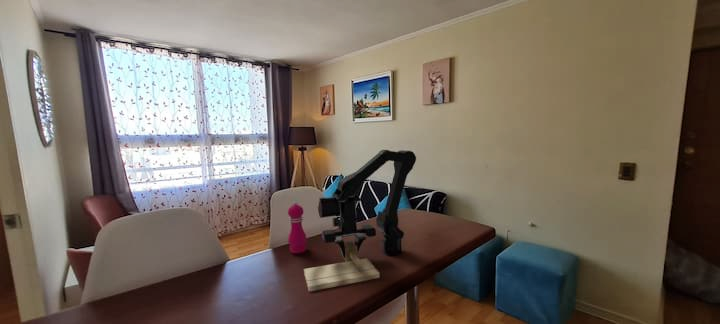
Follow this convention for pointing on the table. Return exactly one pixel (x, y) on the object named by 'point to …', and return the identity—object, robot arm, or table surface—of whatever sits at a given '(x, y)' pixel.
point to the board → (339, 274)
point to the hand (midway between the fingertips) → (349, 256)
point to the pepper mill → (296, 229)
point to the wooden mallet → (352, 254)
